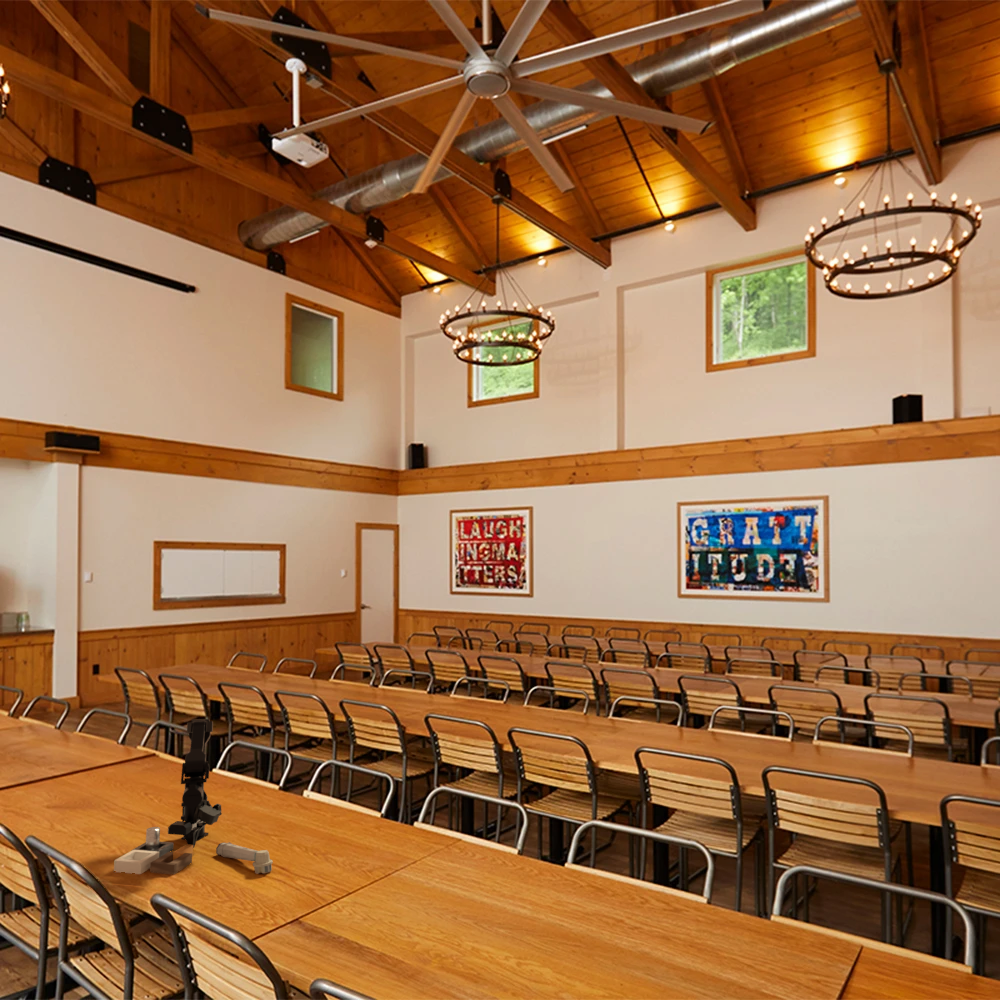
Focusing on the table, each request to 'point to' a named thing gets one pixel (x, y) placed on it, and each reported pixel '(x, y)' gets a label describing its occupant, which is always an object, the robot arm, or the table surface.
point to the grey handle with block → (247, 856)
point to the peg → (152, 838)
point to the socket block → (162, 850)
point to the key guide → (170, 863)
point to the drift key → (183, 851)
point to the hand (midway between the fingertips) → (191, 848)
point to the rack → (135, 861)
